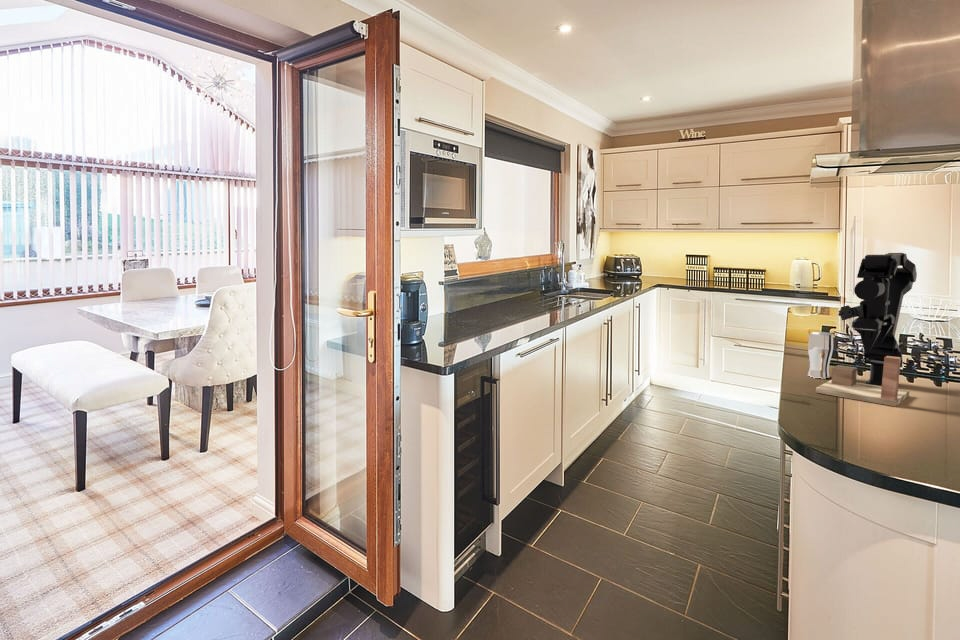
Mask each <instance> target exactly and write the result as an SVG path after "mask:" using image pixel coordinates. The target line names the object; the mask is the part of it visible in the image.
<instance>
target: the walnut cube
mask: <svg viewBox="0 0 960 640" xmlns="http://www.w3.org/2000/svg"><path fill="white" fill-rule="evenodd" d="M857 373H858V367H855V366H854V367H853V366H847V365H839V364H837V365H834V366H833V367H832V370H831V380H832V382H831V384H838V385H844V386H850V387H851V386H853V385H854V384H856V383H857V375H858V374H857Z"/></svg>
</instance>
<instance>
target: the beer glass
mask: <svg viewBox="0 0 960 640" xmlns="http://www.w3.org/2000/svg"><path fill="white" fill-rule="evenodd" d="M807 346H808V347H807V352H808V358H809V359H808V360H809V369H808V372H807V377H808V376H810V377H809V378H811V377H813V378H812V379H815V378H821V379H820V380H827V379H826V378H829V379H830V372H829V371H830V369H829V368H830V362H831V360H832V355H833V352H834V333H831V332H828V331H827V332H826V331H825V332H824V331H811V332H809V337H808V344H807Z"/></svg>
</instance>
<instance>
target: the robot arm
mask: <svg viewBox="0 0 960 640" xmlns="http://www.w3.org/2000/svg"><path fill="white" fill-rule="evenodd" d="M899 266H901V267H899ZM856 277H857V279H862V280H861V281H858V282H857V283H856V284H855V286H854V288H853V289H854V290H853V291H854V294H855V296H856V297H857V298H859V299H861V301H859V305H857V306H852V307H851V306H850V305H845V306H841V307H840V310H838V316H839V317H840V320H841V321H845V320H849V319H853V318H855V319H853V320H852V321H851V328H852V329H853V330H854V331H855V332H856V333H858V334H859V336H860V338H861V342H862V347H863V361H864V363H863V364H865V365H866V364H867V365H870V373H869V379H868V380H866V381H865V384H869V385H876V386H882V378H883V367H884V357H886V356H892V357H901V363H900V368H903V353H902V352H901V348H900V346H899V343H898V341H897V339H896V338H895V335H896V331H897V327H898V322H899V318H900V313H901V309H902V304H903V299H904V296H905V295H906V294H907V293H909V292H910V291H911V290H912V289H913V284H914V283H916V281H917V268H916V264H915V263H913V262H912V261H911V260H910V259H909V258H908V256H907V254H906V253H903V252H888V253H885V254H866V255H865V256H864V257H863V258H862V259H861V263H860V266H859V268H858V272H857V275H856Z"/></svg>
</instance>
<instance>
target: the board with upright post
mask: <svg viewBox="0 0 960 640" xmlns="http://www.w3.org/2000/svg"><path fill="white" fill-rule="evenodd" d="M900 363H901V357H892V356H886V357H884V367H883V378H882V386H881V385H875V384H868V383H862V382H856V384H854V385H853V386H851V387H850V386H844V385H838V384H831V382H832V379H830V380H828V381H826V382H824V383H823V384H820V385H818V386H817V387H815V393H817V394H823V395H827V396H828V395H829V396H834V397H840V398H843V399H844V398H845V399H852V400H855V401H863V402H869V403H874V404H881V405H886V406H891V407H897V406H899V404H901V403H902V402H903V401H904V400H906V399H907V398H909V396H910V390H906V389H902V388H899V385H900V384H899V383H900V372H901V367H900Z"/></svg>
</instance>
